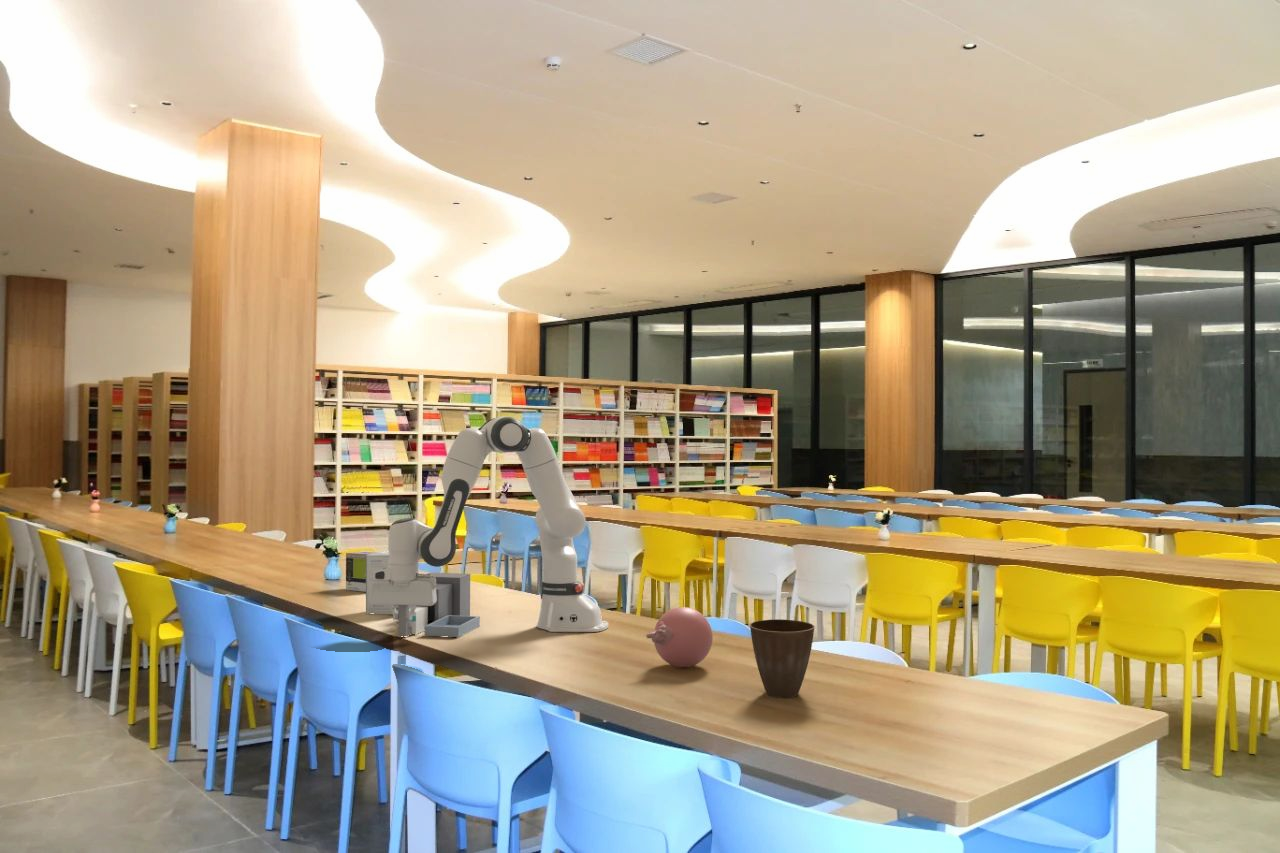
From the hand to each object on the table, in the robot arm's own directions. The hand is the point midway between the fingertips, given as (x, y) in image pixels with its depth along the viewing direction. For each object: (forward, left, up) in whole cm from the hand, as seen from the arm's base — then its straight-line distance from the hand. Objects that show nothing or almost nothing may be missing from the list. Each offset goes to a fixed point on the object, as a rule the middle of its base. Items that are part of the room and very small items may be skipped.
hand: (402, 619), depth 294 cm
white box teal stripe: (0, -6, -5) cm, 8 cm away
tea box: (+51, -83, -6) cm, 97 cm away
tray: (-11, -12, -5) cm, 17 cm away
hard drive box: (+21, -38, -6) cm, 43 cm away
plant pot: (-113, +43, -5) cm, 121 cm away
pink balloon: (-85, +22, -5) cm, 88 cm away
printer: (0, -27, -5) cm, 27 cm away
